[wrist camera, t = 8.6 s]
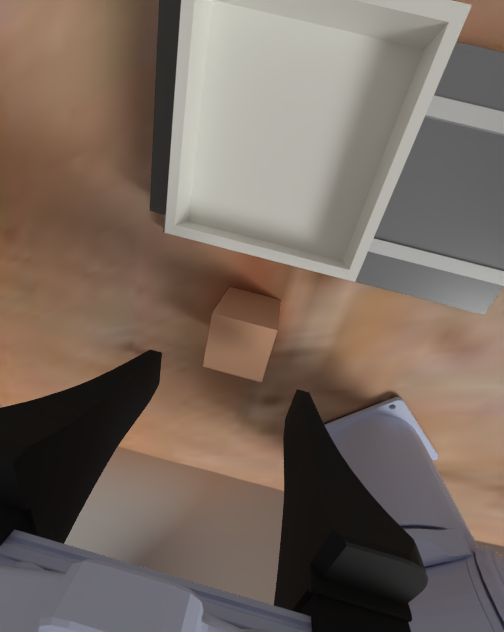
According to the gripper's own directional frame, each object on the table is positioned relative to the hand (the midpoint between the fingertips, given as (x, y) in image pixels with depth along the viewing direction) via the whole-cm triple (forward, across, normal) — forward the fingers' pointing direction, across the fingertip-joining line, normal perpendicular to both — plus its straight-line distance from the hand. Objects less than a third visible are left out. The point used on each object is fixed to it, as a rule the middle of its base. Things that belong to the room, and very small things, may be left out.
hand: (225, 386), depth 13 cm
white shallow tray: (+7, 0, -11) cm, 13 cm away
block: (+8, 0, 0) cm, 8 cm away
